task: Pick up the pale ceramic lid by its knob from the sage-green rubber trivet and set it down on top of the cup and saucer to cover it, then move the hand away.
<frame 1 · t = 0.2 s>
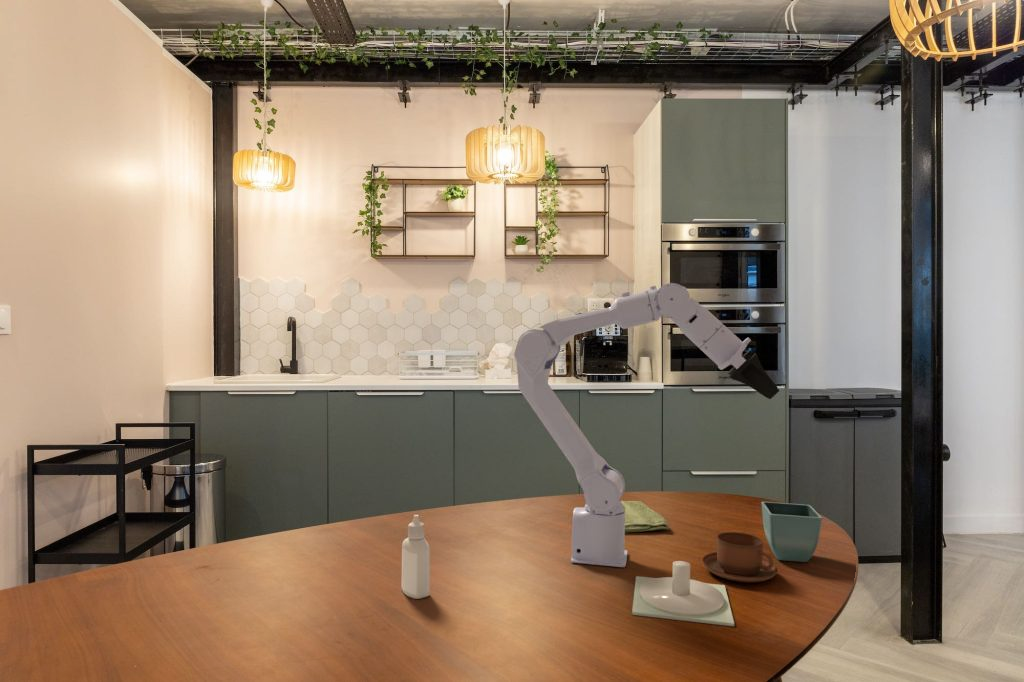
hand: (772, 392, 107), 31 cm above the table, tool tilted 45°, fingers open, 7 cm apart
cup and saucer: (739, 576, 108), on the table
eye dropper bottle: (415, 593, 98), on the table
trivet: (680, 600, 97), on the table
washcloth: (628, 523, 138), on the table
flower pot: (789, 558, 116), on the table
lid: (681, 580, 97), on the trivet
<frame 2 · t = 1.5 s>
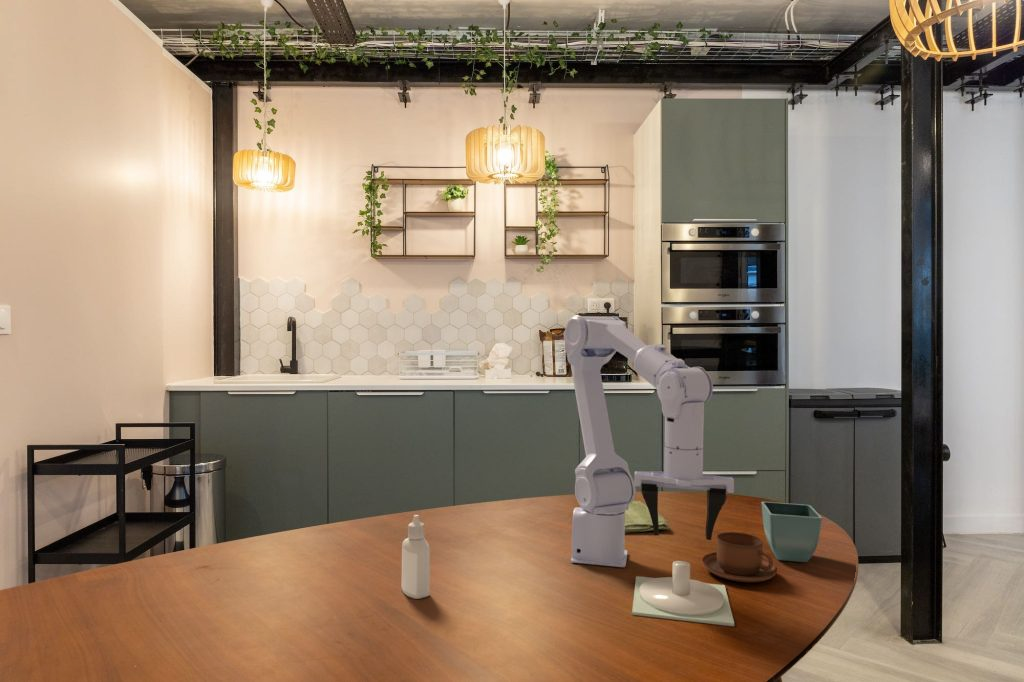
hand: (682, 535, 97), 10 cm above the table, tool pointing down, fingers open, 7 cm apart
nothing on the table moved.
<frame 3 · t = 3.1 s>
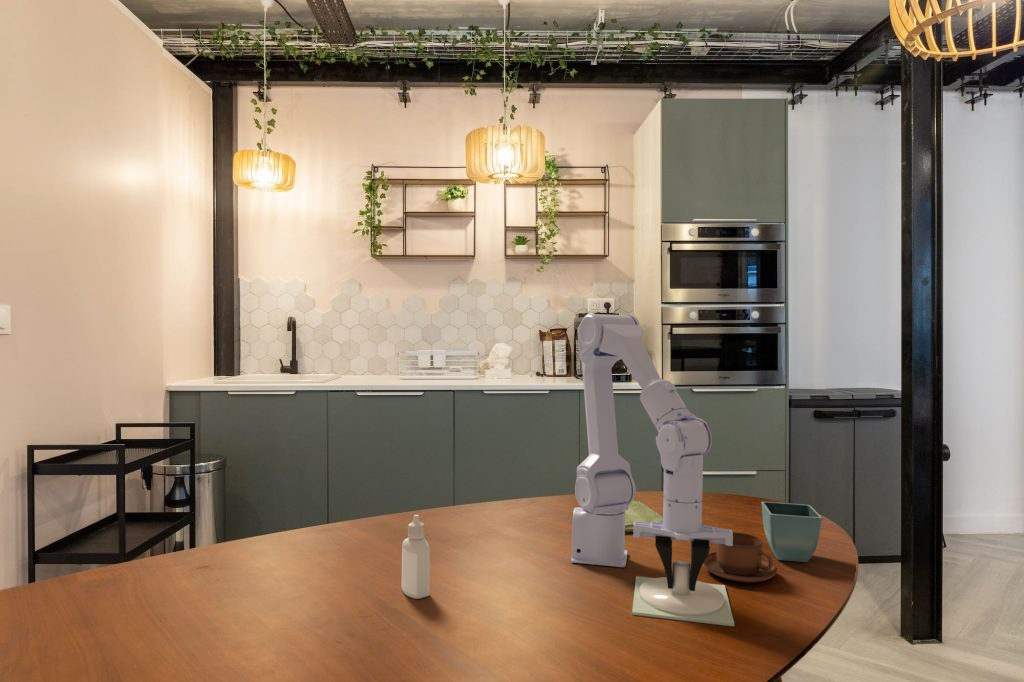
hand: (681, 587, 97), 2 cm above the table, tool pointing down, fingers closed on lid, 3 cm apart
lid: (681, 580, 97), on the trivet, touching gripper
everything else where it was.
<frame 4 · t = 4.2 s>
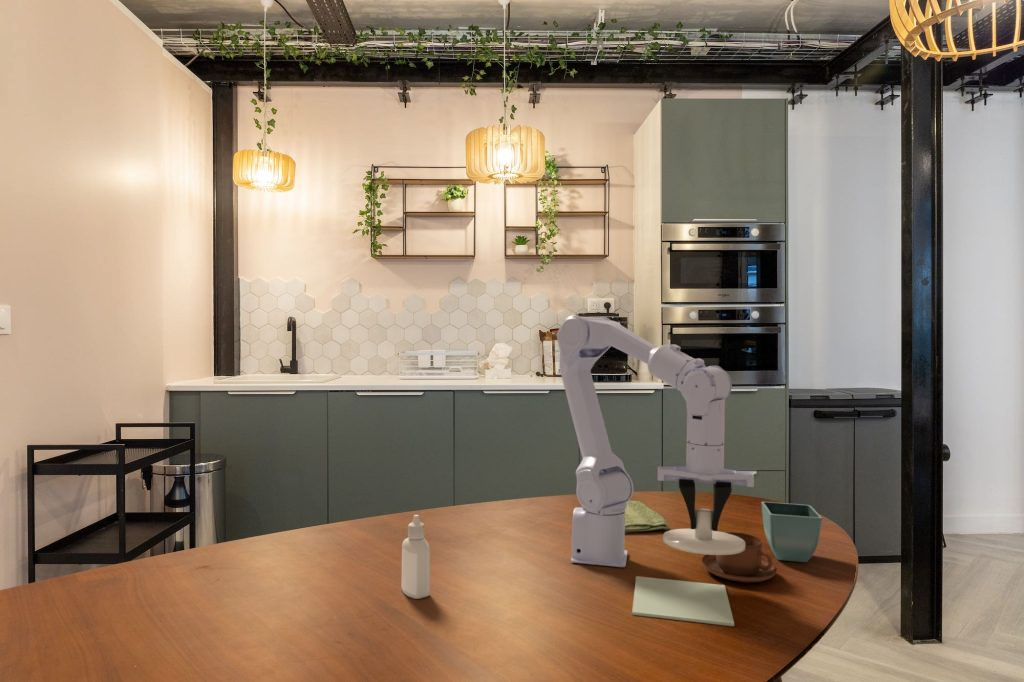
hand: (703, 528, 100), 10 cm above the table, tool pointing down, fingers closed on lid, 3 cm apart
lid: (703, 526, 100), point 10 cm above the table, touching gripper
everything else where it was.
when the fingers open (8 cm above the table, at t = 5.4 s): lid stays where it is, resting on cup and saucer.
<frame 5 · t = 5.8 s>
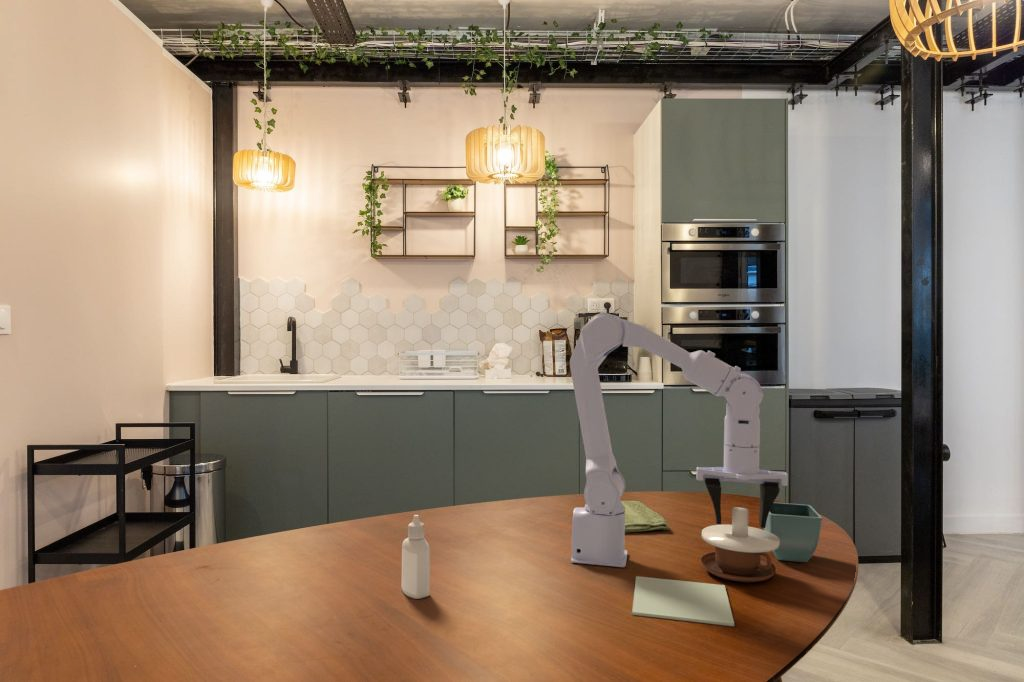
hand: (740, 524, 108), 8 cm above the table, tool pointing down, fingers open, 6 cm apart
cup and saucer: (737, 575, 108), on the table, touching lid
lid: (740, 524, 107), point 8 cm above the table, touching cup and saucer
everything else where it was.
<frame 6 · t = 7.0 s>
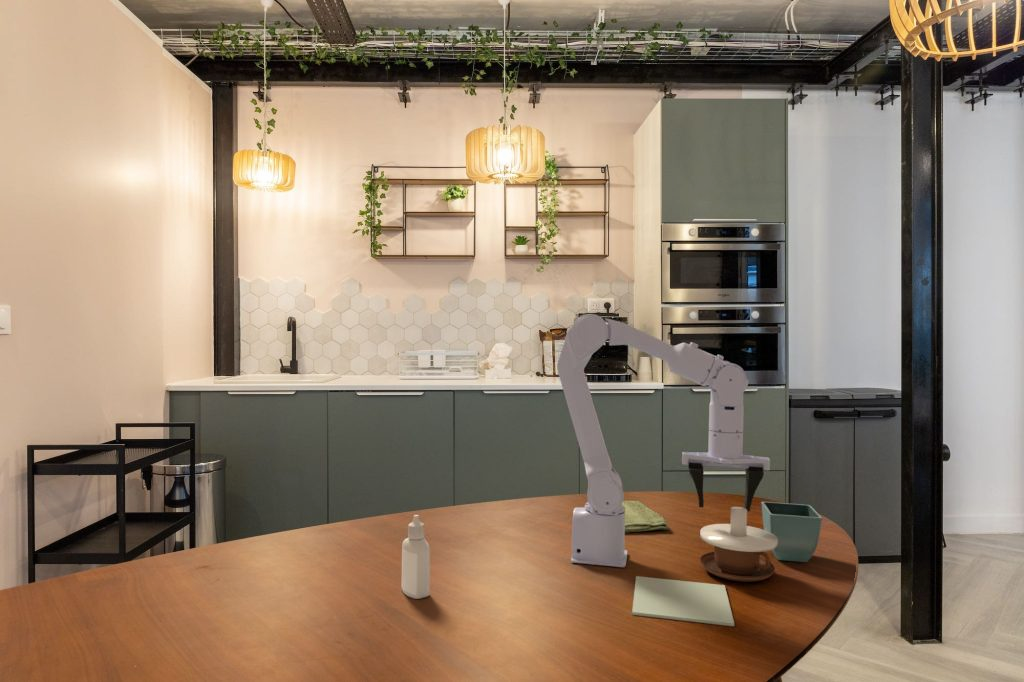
hand: (723, 507, 111), 10 cm above the table, tool pointing down, fingers open, 7 cm apart
nothing on the table moved.
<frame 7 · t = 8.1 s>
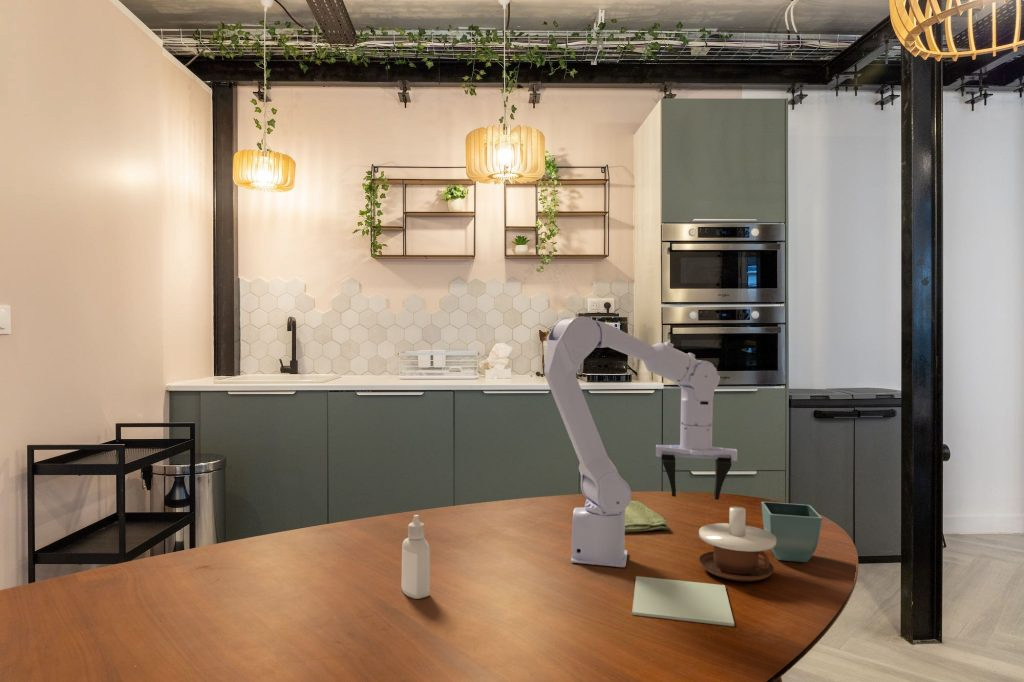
hand: (695, 496, 118), 10 cm above the table, tool pointing down, fingers open, 7 cm apart
nothing on the table moved.
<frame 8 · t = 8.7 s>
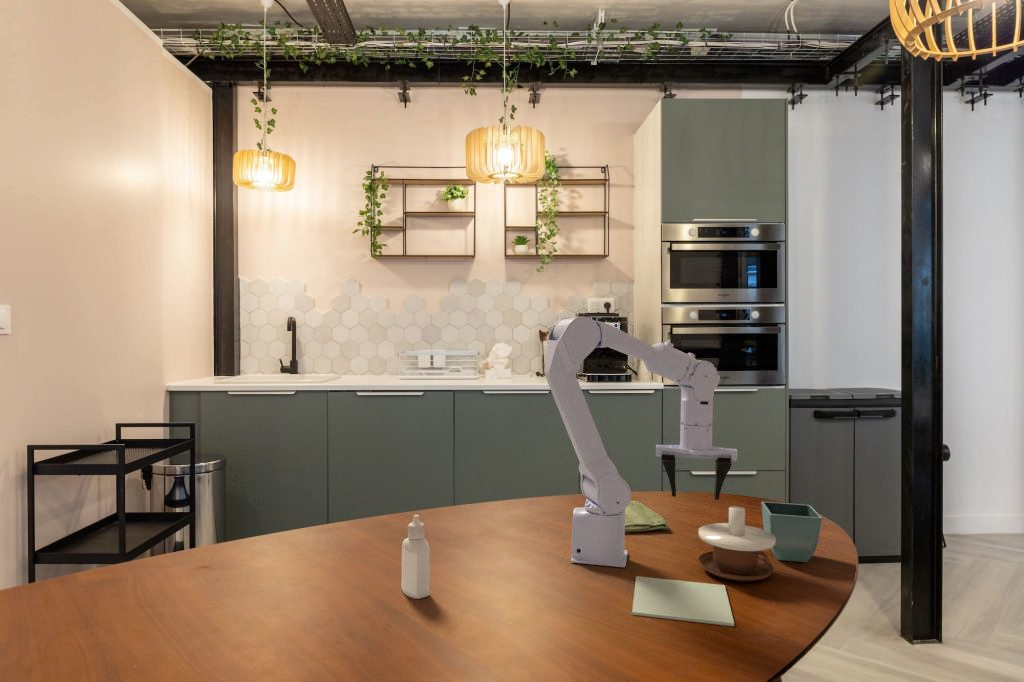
hand: (695, 496, 118), 10 cm above the table, tool pointing down, fingers open, 7 cm apart
nothing on the table moved.
at the end: lid 0.4 cm from the cup and saucer (horizontally); lid point 8.5 cm above the table; lid tilted 0° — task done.
